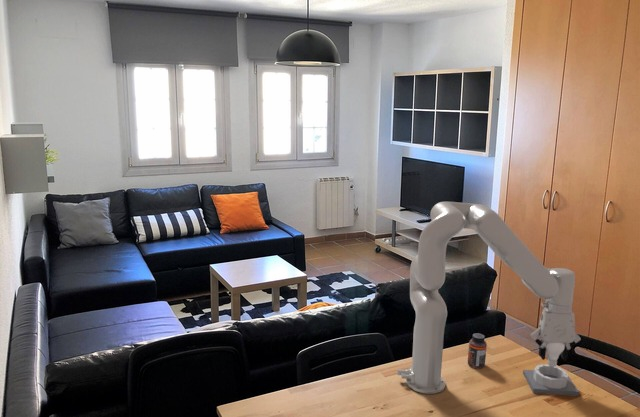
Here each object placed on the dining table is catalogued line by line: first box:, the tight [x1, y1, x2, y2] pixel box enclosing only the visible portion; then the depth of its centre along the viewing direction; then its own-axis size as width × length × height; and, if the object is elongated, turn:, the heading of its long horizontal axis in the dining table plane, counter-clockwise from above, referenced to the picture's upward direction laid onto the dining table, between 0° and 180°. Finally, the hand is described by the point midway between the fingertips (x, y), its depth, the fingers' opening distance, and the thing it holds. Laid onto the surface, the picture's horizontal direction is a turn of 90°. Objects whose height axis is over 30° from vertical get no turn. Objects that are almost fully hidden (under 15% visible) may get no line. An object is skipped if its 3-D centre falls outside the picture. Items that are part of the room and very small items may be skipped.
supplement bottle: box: [467, 332, 488, 369], centre depth 184 cm, size 6×6×11 cm
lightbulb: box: [545, 342, 565, 367], centre depth 171 cm, size 6×6×11 cm
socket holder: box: [522, 363, 580, 397], centre depth 173 cm, size 14×12×4 cm
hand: (552, 357), depth 171 cm, fingers closed on lightbulb, 6 cm apart
